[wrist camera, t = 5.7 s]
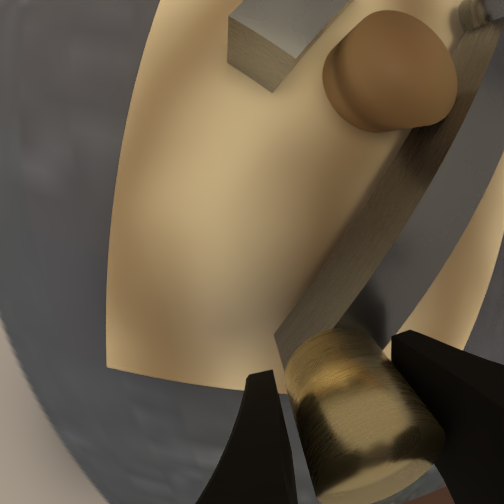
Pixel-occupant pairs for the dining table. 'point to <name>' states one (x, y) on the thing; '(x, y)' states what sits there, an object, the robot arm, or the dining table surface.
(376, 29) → the brown cylinder
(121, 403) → the dining table surface
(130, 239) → the board
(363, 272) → the press lever
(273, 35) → the gray block
